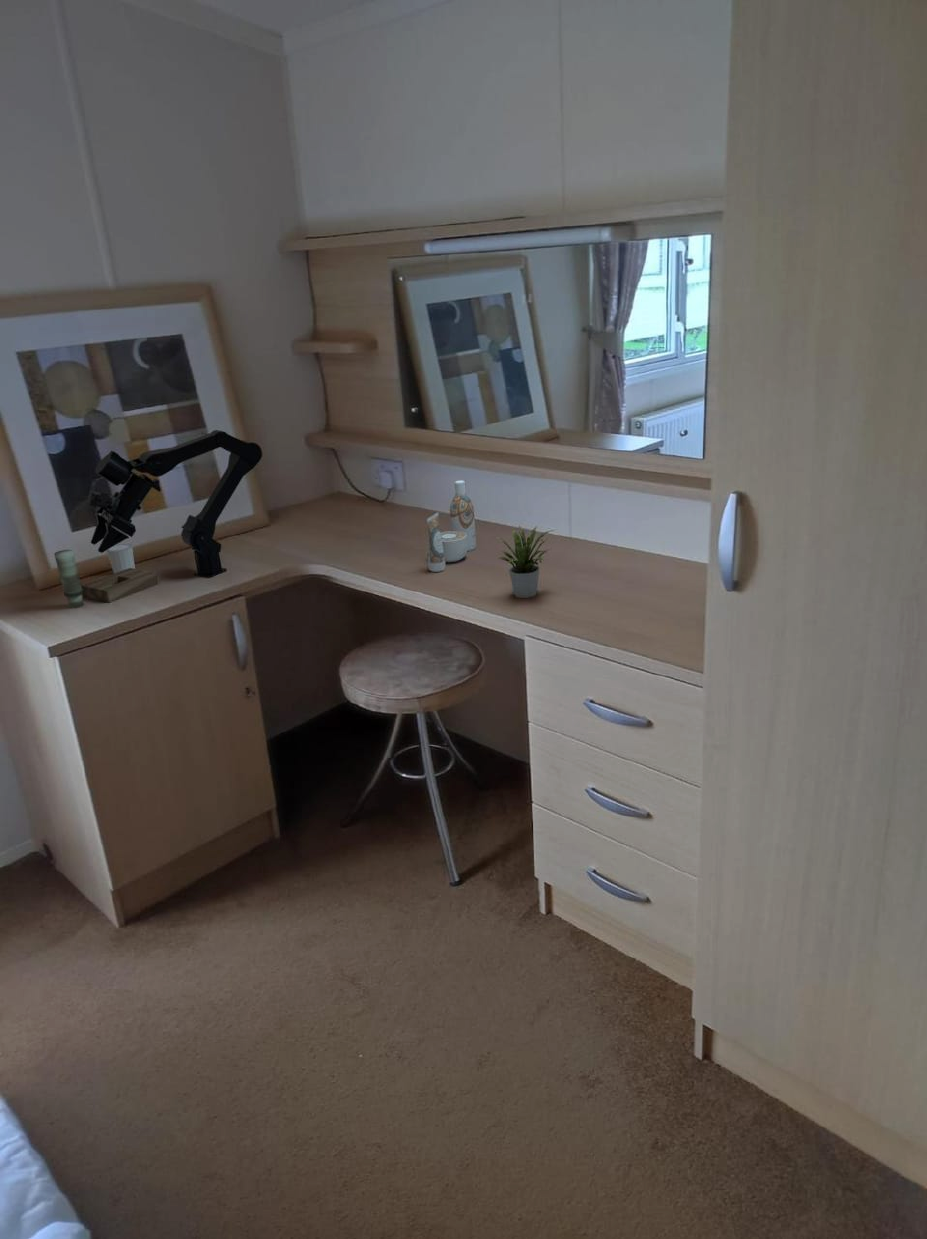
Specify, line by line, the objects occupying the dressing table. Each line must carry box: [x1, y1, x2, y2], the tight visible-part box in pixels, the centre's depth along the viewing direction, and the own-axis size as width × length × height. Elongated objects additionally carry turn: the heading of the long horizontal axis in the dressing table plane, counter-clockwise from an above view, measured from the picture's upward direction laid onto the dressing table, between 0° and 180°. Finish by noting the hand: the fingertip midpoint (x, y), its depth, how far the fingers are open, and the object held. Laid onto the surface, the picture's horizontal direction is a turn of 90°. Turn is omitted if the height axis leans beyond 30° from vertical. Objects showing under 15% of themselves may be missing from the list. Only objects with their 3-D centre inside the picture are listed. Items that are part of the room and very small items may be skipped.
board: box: [81, 568, 159, 603], centre depth 230 cm, size 11×15×3 cm
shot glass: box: [105, 543, 136, 574], centre depth 244 cm, size 7×7×7 cm
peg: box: [54, 549, 85, 609], centre depth 219 cm, size 4×4×14 cm
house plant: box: [493, 525, 555, 599], centre depth 204 cm, size 14×14×16 cm
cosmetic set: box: [426, 480, 477, 573], centre depth 232 cm, size 25×9×19 cm, turn 157°
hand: (96, 547), depth 220 cm, fingers open, 9 cm apart
